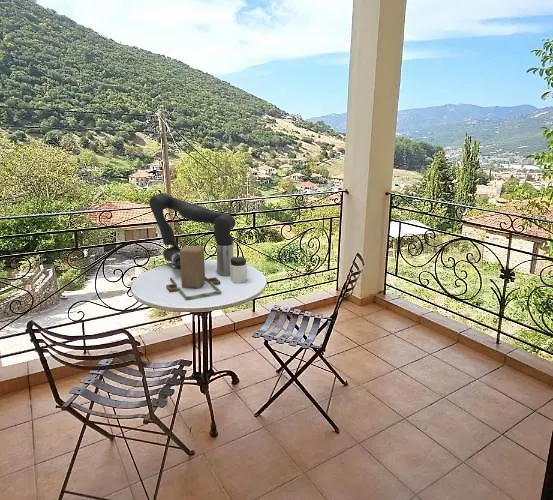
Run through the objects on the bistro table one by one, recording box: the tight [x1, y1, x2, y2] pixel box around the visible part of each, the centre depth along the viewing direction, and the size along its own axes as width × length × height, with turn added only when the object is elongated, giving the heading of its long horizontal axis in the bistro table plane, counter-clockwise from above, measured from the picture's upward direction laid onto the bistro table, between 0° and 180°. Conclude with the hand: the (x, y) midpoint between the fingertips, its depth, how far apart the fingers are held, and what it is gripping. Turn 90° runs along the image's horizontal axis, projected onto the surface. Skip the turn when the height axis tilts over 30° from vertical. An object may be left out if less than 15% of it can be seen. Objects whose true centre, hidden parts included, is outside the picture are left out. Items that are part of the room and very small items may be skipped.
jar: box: [229, 256, 248, 284], centre depth 208 cm, size 9×8×12 cm
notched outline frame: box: [165, 275, 222, 301], centre depth 199 cm, size 26×30×2 cm
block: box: [180, 244, 206, 289], centre depth 200 cm, size 10×10×20 cm
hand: (188, 269), depth 206 cm, fingers closed
